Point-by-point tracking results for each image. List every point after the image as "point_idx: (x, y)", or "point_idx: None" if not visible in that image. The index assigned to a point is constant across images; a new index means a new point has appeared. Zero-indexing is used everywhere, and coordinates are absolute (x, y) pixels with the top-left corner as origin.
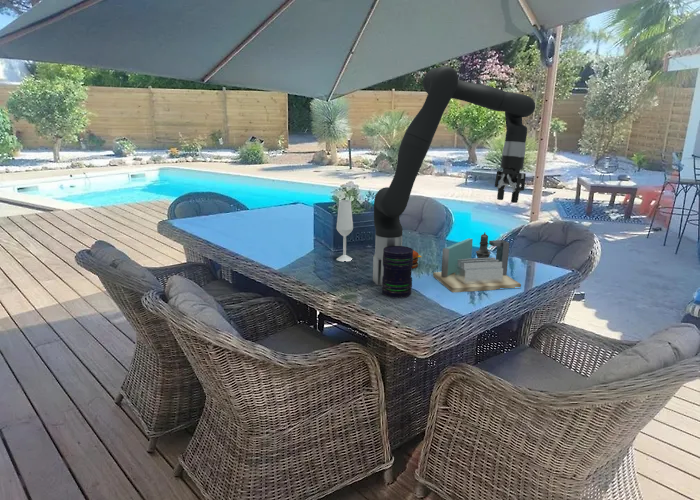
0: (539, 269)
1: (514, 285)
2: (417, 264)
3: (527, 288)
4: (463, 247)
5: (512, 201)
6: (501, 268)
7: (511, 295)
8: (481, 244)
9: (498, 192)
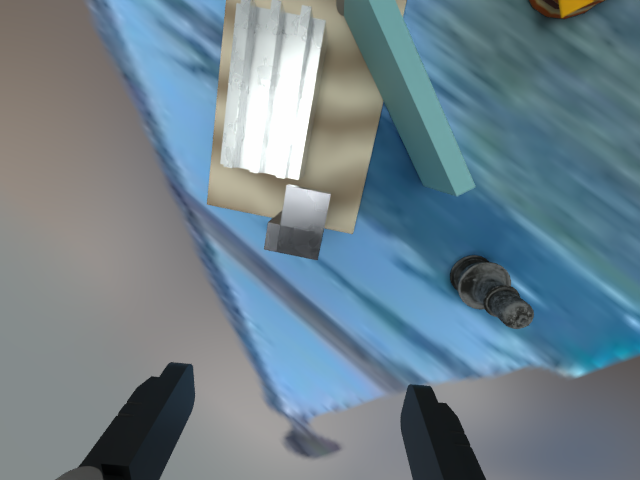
0: (329, 359)
1: (210, 184)
2: (537, 2)
3: (205, 218)
4: (412, 112)
5: (168, 367)
6: (221, 157)
7: (168, 137)
8: (498, 286)
9: (444, 451)
